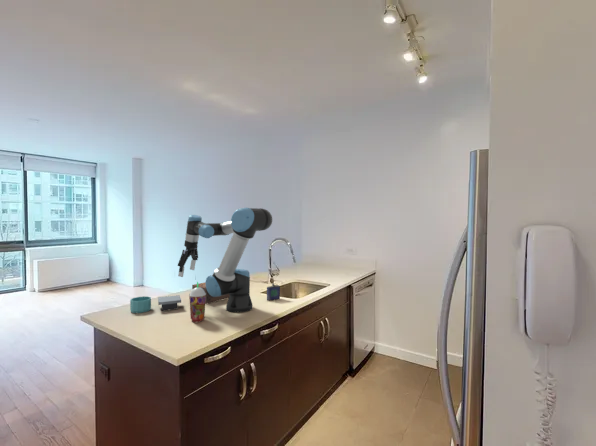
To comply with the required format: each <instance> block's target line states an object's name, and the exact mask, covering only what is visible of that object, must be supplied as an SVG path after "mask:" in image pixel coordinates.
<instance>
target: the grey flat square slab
mask: <svg viewBox="0 0 596 446" xmlns="http://www.w3.org/2000/svg"><path fill="white" fill-rule="evenodd" d="M173 303H177V304H181V303H182V298H181V296H180V294H178V295H168V296H158V297H157V304H158V306H162V305H164V304H173Z"/></svg>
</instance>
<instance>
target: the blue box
mask: <svg viewBox="0 0 596 446" xmlns="http://www.w3.org/2000/svg"><path fill="white" fill-rule="evenodd" d="M280 298H281V285H278V284H275V283H274V282H273V283H271V286H269V285H268V286H266V301H267V302H271V301H278V300H280Z"/></svg>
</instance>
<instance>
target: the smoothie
mask: <svg viewBox="0 0 596 446" xmlns="http://www.w3.org/2000/svg"><path fill="white" fill-rule="evenodd" d="M196 284H197V287H196V288H194V289H191V290H190V293H189V299H188V300H189V313H190V315H189V316H190V320H191V322H193V323H201V322H202V321H204V318H205V314H206V313H205V312H206V304H205V302H206V293H205V291H204V289H202V288H200V287H198V284H199V282H198V281H196Z"/></svg>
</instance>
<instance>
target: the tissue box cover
mask: <svg viewBox="0 0 596 446" xmlns="http://www.w3.org/2000/svg"><path fill="white" fill-rule="evenodd" d="M196 287H197V283H195V284H192V289H194V288H196ZM198 287H200V288H202V289H204V291H205V293H206V302H205V305H206V304H207V303H208V304H210V303H211V302H212V303H215V301H216V302H220V301H222V300H228V299H229V294H226V295H222V296H217V297H213V296H211V295H210V294H209V293H208V291H207V289H206V281H205V282H201V283H199V282H198ZM192 289H191V290H192ZM208 304H207V305H208Z"/></svg>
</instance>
